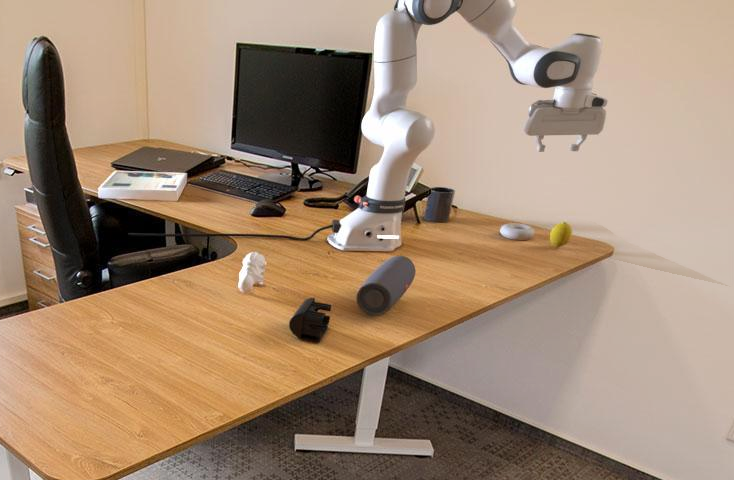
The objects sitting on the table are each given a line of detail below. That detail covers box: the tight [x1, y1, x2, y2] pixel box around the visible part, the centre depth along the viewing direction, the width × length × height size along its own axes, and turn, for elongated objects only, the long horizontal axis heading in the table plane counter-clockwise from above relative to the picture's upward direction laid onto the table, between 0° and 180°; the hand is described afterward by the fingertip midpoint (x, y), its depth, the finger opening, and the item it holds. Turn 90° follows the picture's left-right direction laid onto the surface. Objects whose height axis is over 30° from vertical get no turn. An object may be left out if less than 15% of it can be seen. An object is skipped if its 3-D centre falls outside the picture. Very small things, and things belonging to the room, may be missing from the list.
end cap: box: [288, 297, 332, 344], centre depth 156 cm, size 10×7×7 cm
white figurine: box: [237, 251, 268, 295], centre depth 180 cm, size 6×8×12 cm
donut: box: [499, 222, 536, 241], centre depth 218 cm, size 10×4×10 cm
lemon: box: [549, 221, 573, 249], centre depth 207 cm, size 6×6×8 cm
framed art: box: [97, 170, 188, 202], centre depth 273 cm, size 30×4×30 cm
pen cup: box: [423, 186, 456, 224], centre depth 234 cm, size 8×8×10 cm
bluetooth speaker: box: [355, 255, 416, 317], centre depth 169 cm, size 23×9×10 cm, turn 148°
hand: (557, 151), depth 198 cm, fingers open, 8 cm apart
